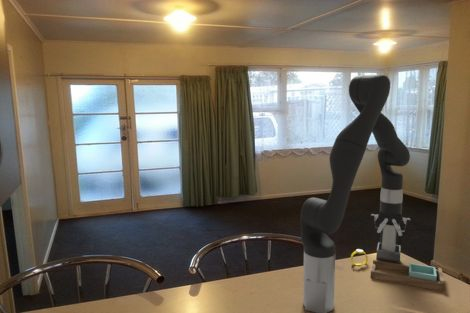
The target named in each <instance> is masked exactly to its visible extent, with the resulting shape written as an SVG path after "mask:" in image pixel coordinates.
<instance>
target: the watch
mask: <svg viewBox="0 0 470 313" xmlns="http://www.w3.org/2000/svg"><path fill="white" fill-rule="evenodd" d="M356 254H364V255H365V260H364V261H363V262H361V263H358V262H357V263H355V262H354V260H353V258H354V255H356ZM368 258H369V257H368V254H366V252H365V251H364V250H363V249H361V248H357V249H355V250H354V251H353V252H352V253H351V254H350V261H351V263H352V265H354V266H360V267H361V266H362V264H363V265H366V264H367V263H368Z"/></svg>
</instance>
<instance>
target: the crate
mask: <svg viewBox="0 0 470 313" xmlns="http://www.w3.org/2000/svg"><path fill="white" fill-rule="evenodd" d="M408 265H409V273H408V277H414V278H419V279H425V280H431V281H436V282H437V280H438V278H437V275H436V270H437V269H436V266H431V265H430V266H429V265H424V264H417V263H412V262H409V264H408Z"/></svg>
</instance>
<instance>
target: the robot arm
mask: <svg viewBox="0 0 470 313" xmlns="http://www.w3.org/2000/svg"><path fill="white" fill-rule="evenodd" d="M390 91H391V80H390V79H389V77H388V75H385V74H362V75H361V74H359V75H356V76H354V77H353V78H352V79H351V80H350V83H349V84H348V94H349V97H350V100H351V102H352V103H353V104H352V105H354V107H355V108H356V109H357V111H358V112H359V114H358V115H357V116H356V117H355V118H354V119H353V120H352V121H351V122H350V123H349V124H347V125H346V126H345V127H344V128H343V129H342V130H341V131H340V132H339V133H338V134H337V136H336V138H335V140H334V142H333V145H332V148H331V150H330V153H329V167H330V172H331V177H332V183H331V184H332V185H331V190H330V192H329V196H328V198H327V200H326V199H322V198H318V197H309V198H307V199H306V200H305V201H304V202H303V204H302V206H301V210H300V236H301V244H302V246H303V285H302V288H303V290H302V291H303V292H302V296H303V297H302V302H303V303H302V304H303V306H304V310H305V311H308V312H313V313H330V312H331V311H333V310H334V308H335V284H336V283H335V280H336V277H335V276H336V274H335V273H336V244H335V242H334V241H333V240H332V239H331V237H329V236H328V235H333V234H334V233H335V234H336V232H337V231H338V230H339V228H340V226H341V225H342V222H343V219H344V216H345V212H346V209H347V206H348V203H349V202H348V201H349V197H350V193H351V190H352V187H353V184H354V181H355V179H356V176H357V173H358V171H359V168H360V165H361V163H362V160H363V158H364V155H365V153H366V150H367V146H368V144H369V140H370V138H371V136H372V135H373V137H374V139H375V142H376V144H377V146H378V147H379V150H378V151H377V161H378V165H379V168H380V174H381V187H380V189H381V190H380V196H379V197H380V198H379V200H380V201H379V212H378V214H374V213H371V214H370V223H371V230H372V231H373V232H376V241H378V242H379V243H382V231H383V228H384V226H385V224H386V225H394V226H395V228H396V230H397V233H398V234H397V240H396V245H399V246H400V245H401V244H402V240H403V236H408V235H409V230H410V226H411V218H410V217H403V213H402V212H403V199H404V198H403V195H404V193H403V182H404V176H403V173H401V172H398V171H396V170H394V169H393V168H392V166H393V167H394V166H395V167H405V166H407V165H408V163H409V162H410V159H411V154H410V151H409V149H408V147H407V146H406V145H405V143H404V142H403V141H402V140H401V139H400V138H399V136H398V134H397V131H396V128H395V126H394V124H393V123H392V122H391V120H390V119H389V118H388V117H387V116H386V115H385V114H384V113H382V111H383V109H384V107H385V105H386V103H387V100H388V98H389V96H390ZM377 219H379V221H380V224H379V226H378V227H377V225H376V221H377ZM402 221H403V224H405V226H404V230H402V228H401V226H400V224H401V223H402Z"/></svg>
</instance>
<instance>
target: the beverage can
mask: <svg viewBox="0 0 470 313" xmlns="http://www.w3.org/2000/svg"><path fill="white" fill-rule="evenodd" d="M397 233H398V232H397V230H396V228H395V226H394V225H386V224H385V226H384V228H383V229H382V232H381V243H382V251H389V252H395V247H396V245H397V235H398V234H397Z"/></svg>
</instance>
